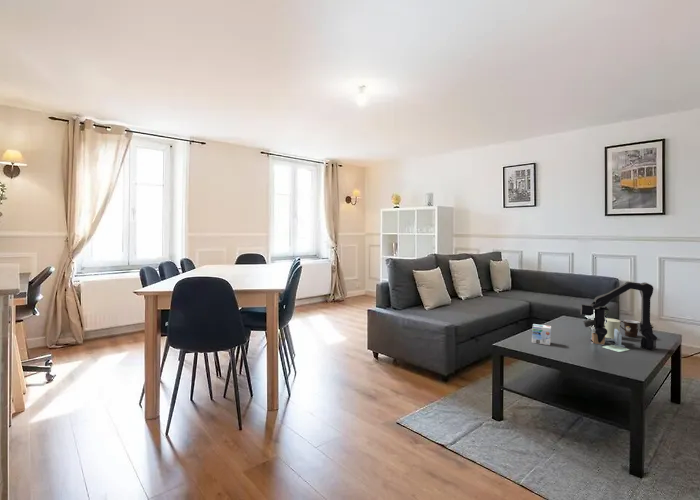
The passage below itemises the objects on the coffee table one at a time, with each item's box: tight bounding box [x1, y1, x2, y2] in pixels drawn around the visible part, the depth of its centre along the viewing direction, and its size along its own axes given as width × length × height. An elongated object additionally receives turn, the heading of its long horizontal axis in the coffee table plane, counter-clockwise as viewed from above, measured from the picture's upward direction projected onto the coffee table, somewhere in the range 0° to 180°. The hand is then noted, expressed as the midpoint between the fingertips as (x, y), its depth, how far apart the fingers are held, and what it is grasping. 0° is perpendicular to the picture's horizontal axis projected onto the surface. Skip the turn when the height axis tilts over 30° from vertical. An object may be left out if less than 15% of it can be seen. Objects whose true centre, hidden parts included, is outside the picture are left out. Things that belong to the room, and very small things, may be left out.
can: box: [604, 317, 621, 340], centre depth 255 cm, size 9×9×12 cm
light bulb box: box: [531, 323, 552, 346], centre depth 242 cm, size 11×7×11 cm, turn 62°
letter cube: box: [591, 332, 606, 346], centre depth 242 cm, size 6×6×6 cm
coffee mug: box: [620, 319, 641, 339], centre depth 259 cm, size 12×9×10 cm
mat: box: [602, 344, 630, 353], centre depth 231 cm, size 10×10×1 cm
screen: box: [610, 329, 626, 348], centre depth 240 cm, size 14×5×8 cm, turn 155°
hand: (598, 340), depth 243 cm, fingers open, 9 cm apart
